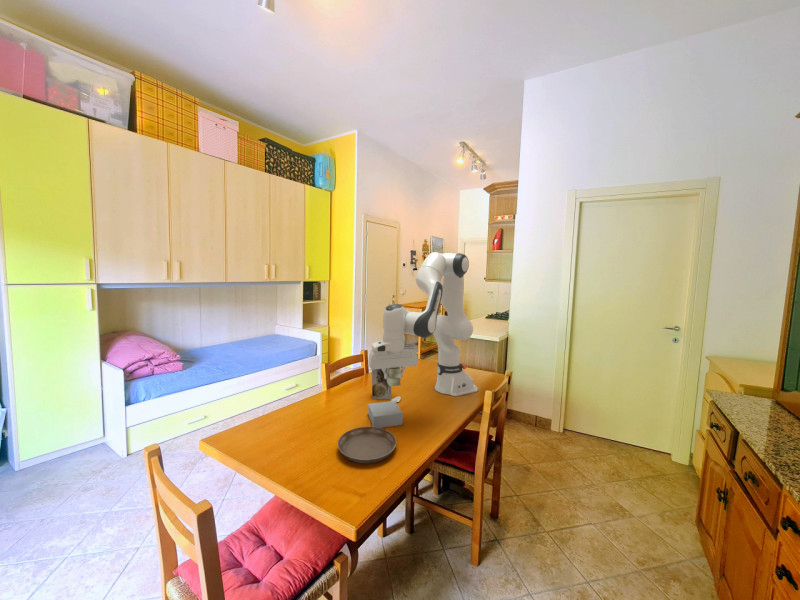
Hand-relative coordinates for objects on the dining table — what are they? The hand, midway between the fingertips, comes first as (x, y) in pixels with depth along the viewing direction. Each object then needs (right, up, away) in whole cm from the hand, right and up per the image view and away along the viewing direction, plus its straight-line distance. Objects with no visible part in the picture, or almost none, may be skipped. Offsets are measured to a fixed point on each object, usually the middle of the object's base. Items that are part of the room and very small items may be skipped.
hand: (393, 377), depth 128 cm
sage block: (0, -3, 0) cm, 3 cm away
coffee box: (-6, -17, +27) cm, 32 cm away
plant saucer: (-9, -22, -17) cm, 29 cm away
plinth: (-4, -19, +4) cm, 20 cm away
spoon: (-3, -18, +17) cm, 25 cm away
